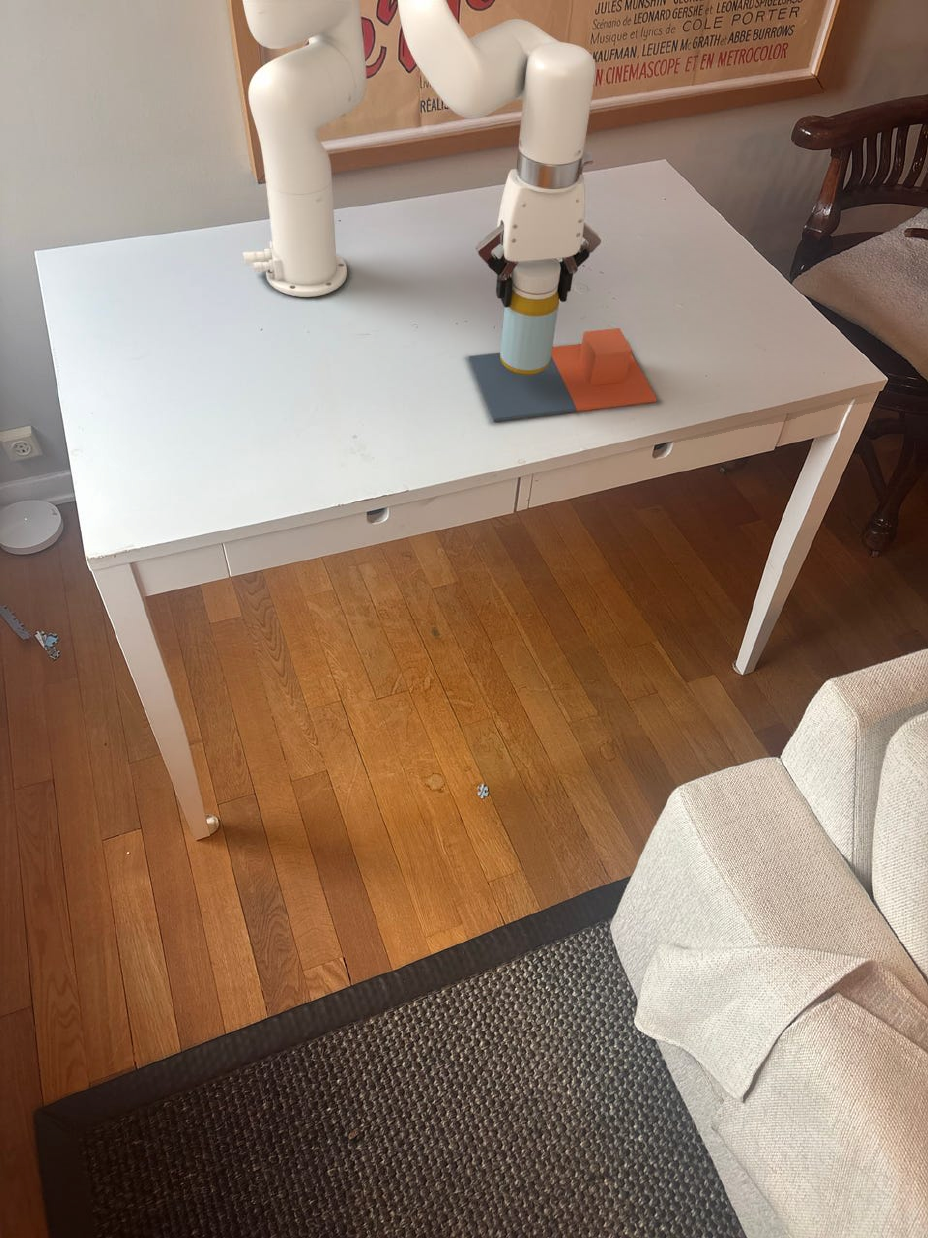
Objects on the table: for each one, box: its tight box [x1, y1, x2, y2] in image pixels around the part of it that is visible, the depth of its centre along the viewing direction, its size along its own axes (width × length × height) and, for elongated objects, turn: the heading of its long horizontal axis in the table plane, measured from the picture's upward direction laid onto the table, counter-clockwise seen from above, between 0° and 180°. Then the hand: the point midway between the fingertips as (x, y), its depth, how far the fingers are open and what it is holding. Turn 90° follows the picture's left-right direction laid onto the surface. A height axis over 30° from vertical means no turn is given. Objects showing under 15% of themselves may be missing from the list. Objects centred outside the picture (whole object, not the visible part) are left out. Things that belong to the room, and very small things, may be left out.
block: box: [578, 327, 633, 386], centre depth 137 cm, size 5×5×5 cm
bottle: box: [499, 258, 561, 375], centre depth 128 cm, size 7×7×15 cm
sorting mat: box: [468, 343, 658, 423], centre depth 138 cm, size 24×14×1 cm, turn 104°
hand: (532, 297), depth 126 cm, fingers closed on bottle, 7 cm apart
